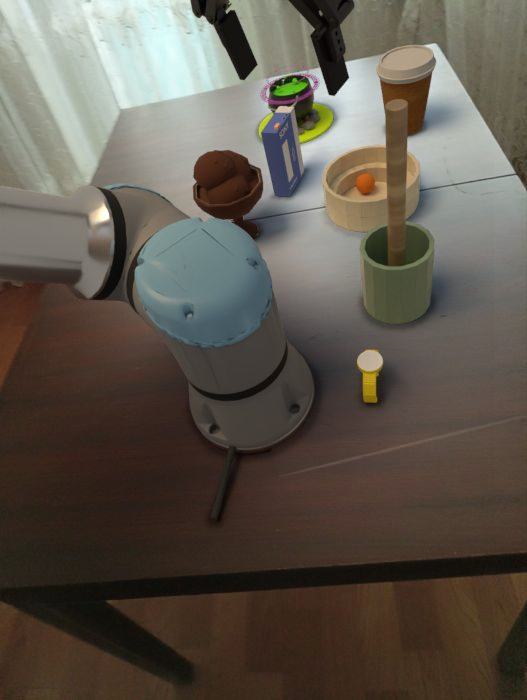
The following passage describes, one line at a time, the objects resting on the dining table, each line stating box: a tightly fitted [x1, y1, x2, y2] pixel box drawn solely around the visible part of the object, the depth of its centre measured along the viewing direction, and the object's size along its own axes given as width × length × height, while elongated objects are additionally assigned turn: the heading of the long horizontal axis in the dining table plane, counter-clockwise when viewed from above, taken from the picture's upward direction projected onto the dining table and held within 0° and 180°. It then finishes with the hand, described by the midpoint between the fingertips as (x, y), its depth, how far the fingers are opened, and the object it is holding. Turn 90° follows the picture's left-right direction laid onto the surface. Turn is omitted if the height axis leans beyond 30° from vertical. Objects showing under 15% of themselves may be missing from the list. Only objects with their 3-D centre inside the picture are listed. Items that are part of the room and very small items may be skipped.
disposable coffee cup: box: [375, 44, 437, 137], centre depth 85 cm, size 10×10×12 cm
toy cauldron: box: [258, 60, 334, 144], centre depth 95 cm, size 15×15×11 cm
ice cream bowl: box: [192, 149, 264, 240], centre depth 76 cm, size 11×11×15 cm
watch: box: [356, 349, 384, 404], centre depth 56 cm, size 6×3×6 cm, turn 170°
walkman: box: [261, 106, 305, 198], centre depth 82 cm, size 8×3×12 cm, turn 157°
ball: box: [356, 174, 375, 193], centre depth 79 cm, size 3×3×3 cm
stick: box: [384, 99, 408, 266], centre depth 55 cm, size 2×2×26 cm
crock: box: [359, 220, 436, 325], centre depth 62 cm, size 8×8×10 cm
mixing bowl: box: [321, 144, 421, 233], centre depth 76 cm, size 14×14×6 cm
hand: (291, 79), depth 56 cm, fingers open, 13 cm apart
